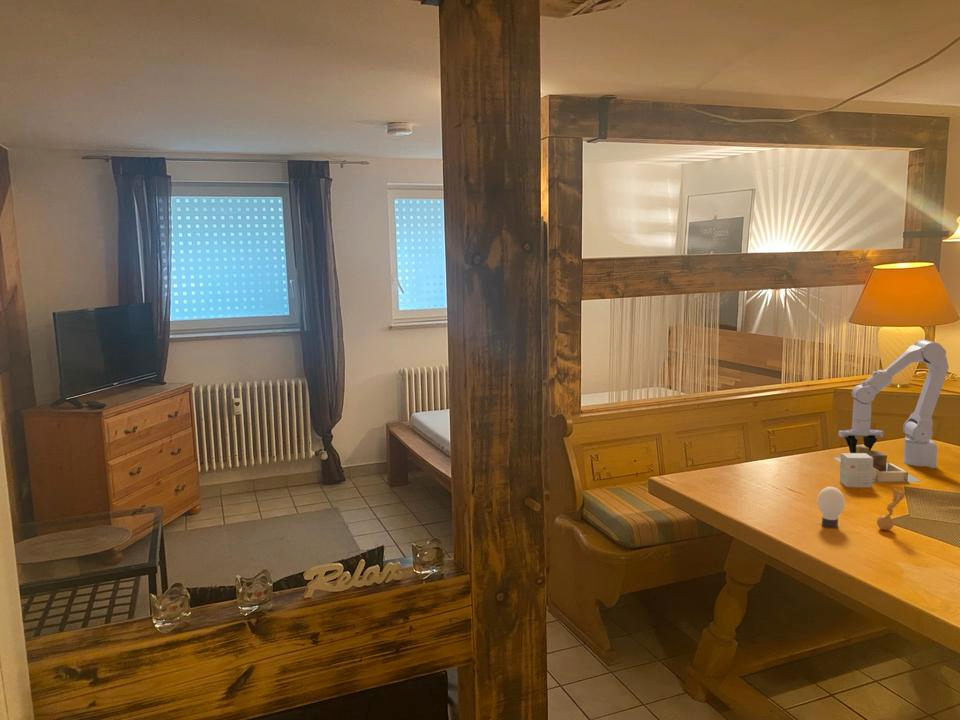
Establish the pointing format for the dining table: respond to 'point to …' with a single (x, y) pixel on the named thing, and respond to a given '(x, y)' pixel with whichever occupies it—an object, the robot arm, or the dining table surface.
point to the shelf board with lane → (890, 474)
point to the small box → (856, 470)
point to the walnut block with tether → (874, 457)
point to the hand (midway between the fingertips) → (859, 456)
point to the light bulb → (830, 506)
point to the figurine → (890, 511)
